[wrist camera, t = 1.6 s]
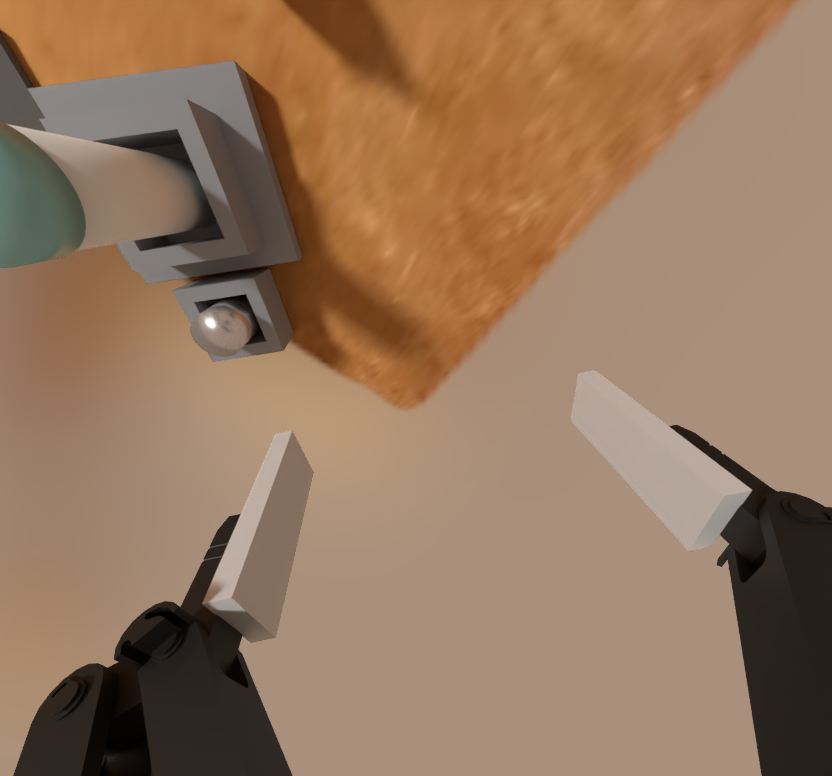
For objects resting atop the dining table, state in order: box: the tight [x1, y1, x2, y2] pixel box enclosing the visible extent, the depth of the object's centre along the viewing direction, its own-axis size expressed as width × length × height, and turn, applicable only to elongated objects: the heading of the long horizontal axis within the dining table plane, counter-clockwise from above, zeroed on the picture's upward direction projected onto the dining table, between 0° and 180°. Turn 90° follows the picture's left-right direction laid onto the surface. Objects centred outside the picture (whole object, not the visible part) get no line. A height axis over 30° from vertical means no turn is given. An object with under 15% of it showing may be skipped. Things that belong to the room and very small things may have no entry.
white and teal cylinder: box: [0, 121, 216, 268], centre depth 17 cm, size 5×5×16 cm
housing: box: [28, 61, 303, 362], centre depth 25 cm, size 20×14×6 cm
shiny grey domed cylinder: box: [190, 296, 260, 357], centre depth 27 cm, size 4×4×5 cm
